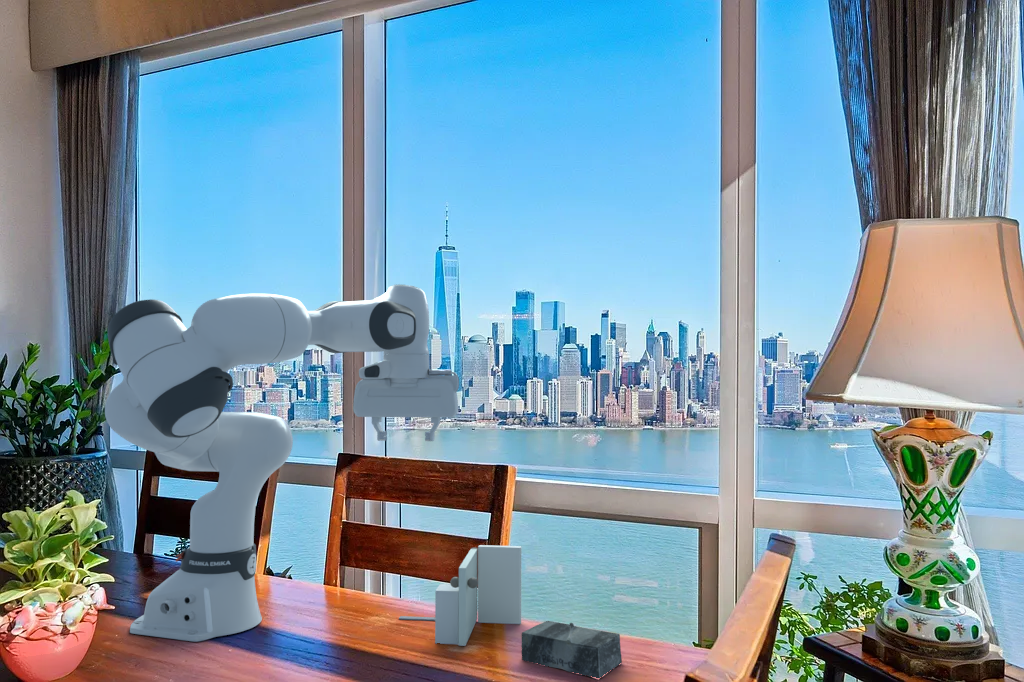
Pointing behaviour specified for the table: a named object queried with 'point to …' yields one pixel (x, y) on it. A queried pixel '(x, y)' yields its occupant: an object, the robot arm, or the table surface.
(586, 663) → the stone block
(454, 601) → the light grey block
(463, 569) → the door
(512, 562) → the wall
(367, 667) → the table surface
